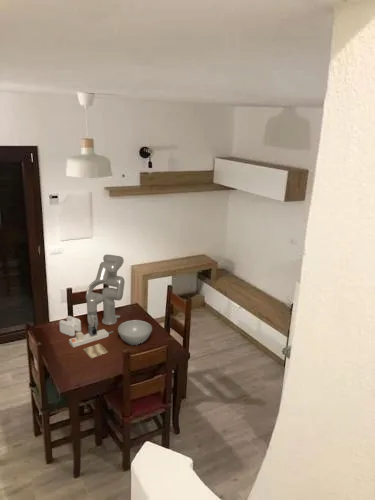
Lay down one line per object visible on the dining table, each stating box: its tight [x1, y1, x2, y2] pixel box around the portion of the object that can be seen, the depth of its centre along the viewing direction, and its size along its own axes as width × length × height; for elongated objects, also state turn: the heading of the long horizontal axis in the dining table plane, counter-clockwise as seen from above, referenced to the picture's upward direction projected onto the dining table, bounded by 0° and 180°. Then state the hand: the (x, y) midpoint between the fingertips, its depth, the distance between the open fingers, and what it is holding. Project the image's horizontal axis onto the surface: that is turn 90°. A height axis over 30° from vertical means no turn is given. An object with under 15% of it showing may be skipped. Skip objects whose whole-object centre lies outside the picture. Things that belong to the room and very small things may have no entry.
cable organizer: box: [58, 315, 82, 337], centre depth 332 cm, size 15×11×12 cm
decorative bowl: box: [117, 319, 153, 346], centre depth 324 cm, size 27×27×12 cm
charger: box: [87, 324, 98, 336], centre depth 325 cm, size 5×5×8 cm
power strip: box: [68, 328, 114, 348], centre depth 325 cm, size 36×8×8 cm, turn 127°
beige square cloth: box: [82, 343, 109, 359], centre depth 310 cm, size 14×14×1 cm
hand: (92, 332), depth 325 cm, fingers closed on charger, 5 cm apart
